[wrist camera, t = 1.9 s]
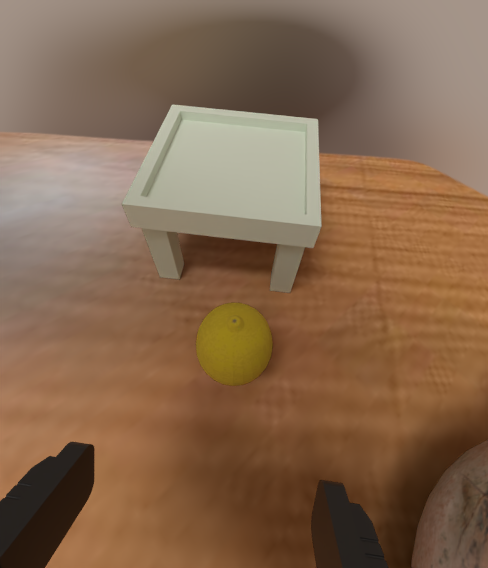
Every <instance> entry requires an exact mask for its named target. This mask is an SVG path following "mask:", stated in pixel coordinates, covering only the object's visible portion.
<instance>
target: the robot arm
mask: <svg viewBox="0 0 488 568" xmlns="http://www.w3.org/2000/svg"><path fill="white" fill-rule="evenodd" d="M93 484H94V446H93V445H91V444H84V443H78V442H70V443H68V444H67V445H66V446H65V447H64V449H63V450H62V451H61V452H60V453H59V454H58V455H57V456H56V457H52V456H49V457H47V458H46V459H44V460H43V461H41V462H40V463H38V464H37V465H35V466H34V467H32V468H31V469H30V470H29V471H28V472H27V474H26V475H25V476H24V477H23V478H22V479H21V480H20V481H19V482H18V484H17V486H16V485H15V486H14V487H13V488H12V489H11V491H10V492H9V493H8V494H7V495H6V497H5V498H3V499H2V500H1V501H0V568H45V567H46V565H47V563H48V562H49V560H50V559H51V557H52V556H53V554H54V552H55V551H56V549H57V548H58V546H59V545H60V543H61V541H62V540H63V538H64V537H65V535H66V533H67V532H68V530H69V529H70V527H71V526H72V524H73V522H74V521H75V519H76V518H77V516H78V514H79V513H80V511H81V510H82V508H83V507H84V505H85V503H86V502H87V500H88V498H89V496H90V494H91V491H92V488H93ZM311 531H312V540H313V547H314V553H315V560H316V566H317V568H388V565H387V563H386V561H385V560H384V554H383V552H382V549H381V546H380V544H379V543H378V538H377V535H376V532H375V529H374V527H373V524H372V521H371V520H370V518H369V517H368V516H367V514H366V513H365V511H364V510H363V509H362V507H361V506H360V505H359V504H354V503H349V500H348V497H347V494H346V490H345V487H344V485H343V484H342V483H338V482H332V481H325V480H320V481H319V483H318V488H317V492H316V497H315V502H314V507H313V512H312V520H311Z"/></svg>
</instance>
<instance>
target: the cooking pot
mask: <svg viewBox="0 0 488 568" xmlns="http://www.w3.org/2000/svg"><path fill="white" fill-rule="evenodd" d="M411 568H488V440H486V441H484V442H482V443H481V444H479V445H477V446H475V447H473V448H471V449H469V450H467V451H466V452H465V453H464V454H463V455H462V456H460V457H459V458H458V459H457V460H456V461H455V462H454V463H453V464H452V465H451V466H450V467H449V468H448V469H446V471H445V472H444V473H443V475H442V476H441V478H440V479H439V481H438V483H437V484H436V486H435V487H434V489H433V490H432V492H431V493H430V495H429V497H428V499H427V502H426V505H425V507H424V510H423V513H422V515H421V518H420V521H419V523H418V526H417V532H416V538H415V543H414V549H413V555H412V562H411Z"/></svg>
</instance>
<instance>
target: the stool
mask: <svg viewBox="0 0 488 568" xmlns="http://www.w3.org/2000/svg"><path fill="white" fill-rule="evenodd" d="M122 206H123V208H124V211H125V213H126V216H127V218H128V220H129V223H130V225H131V227H135V228H142V231H143V233H144V236H145V239H146V241H147V244H148V247H149V249H150V252H151V255H152V258H153V260H154V263H155V266H156V268H157V271H158V274H159V276H160V277H163V278H171V279H179V280H180V276H181V273H182V270H183V266H184V260H183V256H182V252H181V247H180V243H179V239H178V234H177V232H178V233H187V234H195V235H204V236H212V237H221V238H230V239H238V240H247V241H255V242H264V243H273V244H277V248H276V253H275V258H274V263H273V268H272V273H271V282H270V291H278V292H286V293H290V292H291V289H292V286H293V283H294V280H295V277H296V274H297V271H298V268H299V265H300V261H301V258H302V255H303V252H304V249H305V247H307V248H314V245H315V242H316V240H317V237H318V234H319V232H320V229H321V201H320V170H319V139H318V119H311V118H300V117H291V116H280V115H271V114H261V113H250V112H241V111H231V110H221V109H210V108H201V107H190V106H180V105H172V107H171V108H170V110H169V112H168V114H167V116H166V118H165V120H164V122H163V124H162V126H161V128H160V130H159V132H158V134H157V136H156V138H155V140H154V142H153V144H152V146H151V148H150V149H149V151H148V153H147V155H146V157H145V159H144V161H143V163H142V165H141V167H140V169H139V171H138V173H137V175H136V177H135V179H134V181H133V183H132V185H131V187H130V189H129V191H128V193H127V195H126V197H125V199H124V200H123V202H122Z"/></svg>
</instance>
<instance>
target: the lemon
mask: <svg viewBox="0 0 488 568" xmlns="http://www.w3.org/2000/svg"><path fill="white" fill-rule="evenodd" d="M272 348H273V343H272V334H271V331H270V328H269V325H268V323H267V321H266V320H265V318H264V317H263V316H262V314H260V313H259V312H258V311H257V310H256V309H254V308H253V307H251V306H249V305H246V304H242V303H227V304H223V305H221V306H218V307H216V308H215V309H214V310H212V311H211V312H210V313H209V314H208V315H207V316H206V317H205V318H204V320H203V321H202V323H201V325H200V327H199V330H198V333H197V339H196V351H197V357H198V359H199V362H200V365H201V366H202V368H203V369H204V371H205V372H206V373H207V375H209V376H210V377H211V378H212V379H214V380H215V381H217V382H219V383H221V384H223V385H229V386H238V385H244V384H246V383H249V382H251V381H253V380H254V379H256V378H257V377H258V376H260V374H261V373H262V372H263V371H264V370H265V368H266V367H267V365H268V363H269V360H270V358H271V354H272Z"/></svg>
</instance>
